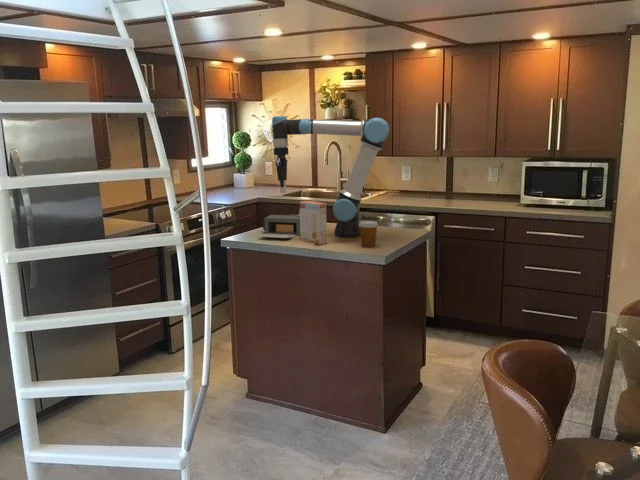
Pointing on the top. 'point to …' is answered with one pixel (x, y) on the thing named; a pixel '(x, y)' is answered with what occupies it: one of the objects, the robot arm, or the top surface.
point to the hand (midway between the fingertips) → (283, 193)
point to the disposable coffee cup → (368, 233)
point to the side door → (277, 235)
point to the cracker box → (313, 222)
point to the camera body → (282, 224)
